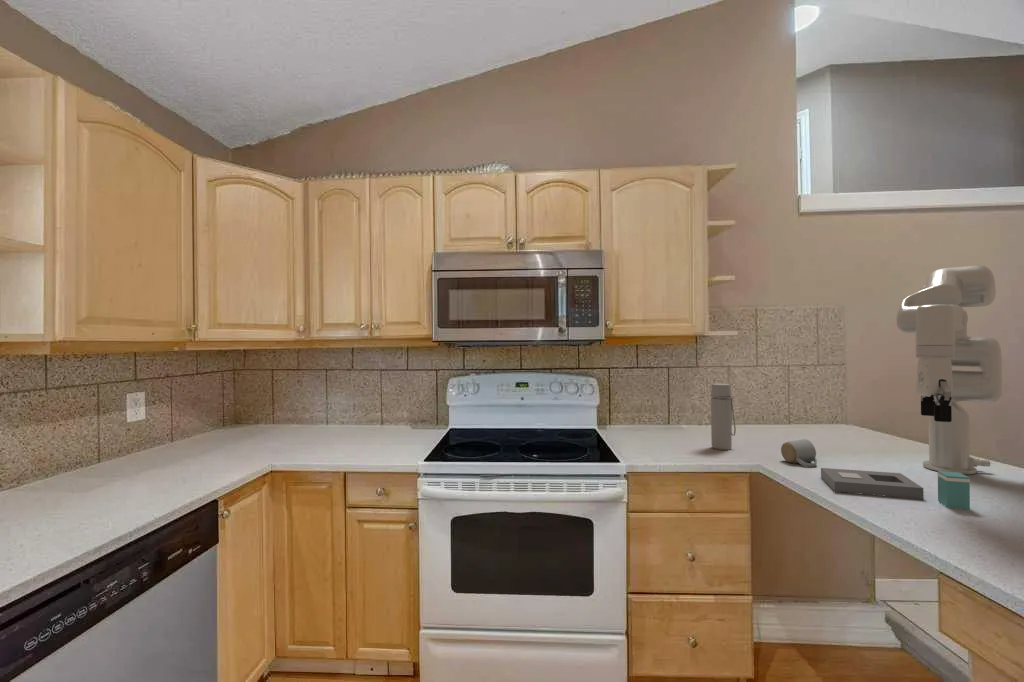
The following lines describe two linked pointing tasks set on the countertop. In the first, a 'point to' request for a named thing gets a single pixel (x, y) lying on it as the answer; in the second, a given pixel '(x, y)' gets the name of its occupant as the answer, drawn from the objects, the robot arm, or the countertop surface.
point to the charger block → (954, 489)
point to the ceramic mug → (799, 452)
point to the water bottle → (721, 416)
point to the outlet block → (871, 483)
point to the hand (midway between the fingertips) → (935, 418)
